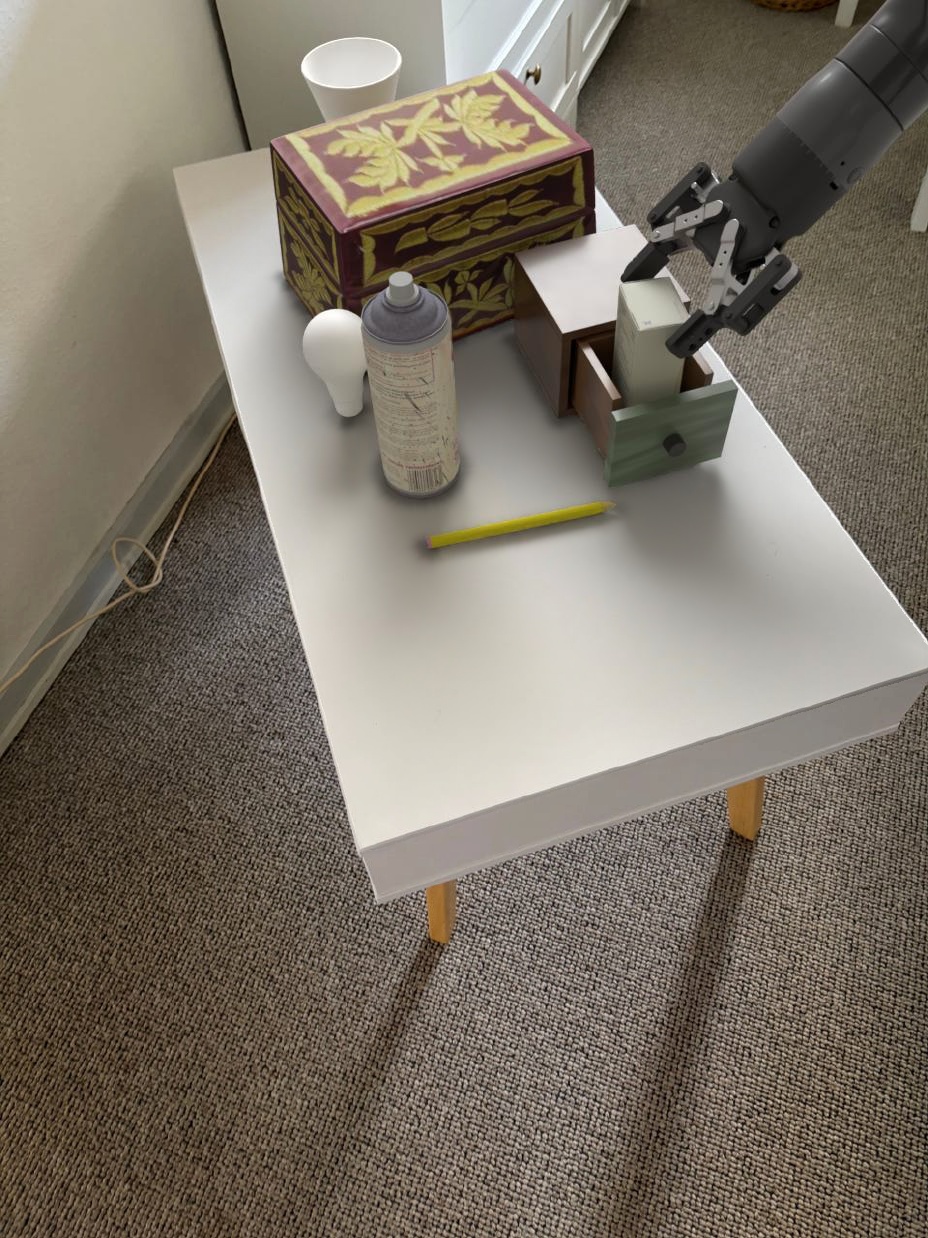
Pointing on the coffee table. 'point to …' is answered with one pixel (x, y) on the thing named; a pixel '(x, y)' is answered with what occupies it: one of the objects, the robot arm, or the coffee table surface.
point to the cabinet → (570, 302)
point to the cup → (352, 75)
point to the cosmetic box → (647, 341)
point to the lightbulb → (338, 357)
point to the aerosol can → (412, 387)
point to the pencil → (518, 524)
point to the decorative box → (431, 198)
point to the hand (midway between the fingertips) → (649, 318)
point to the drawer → (649, 415)
